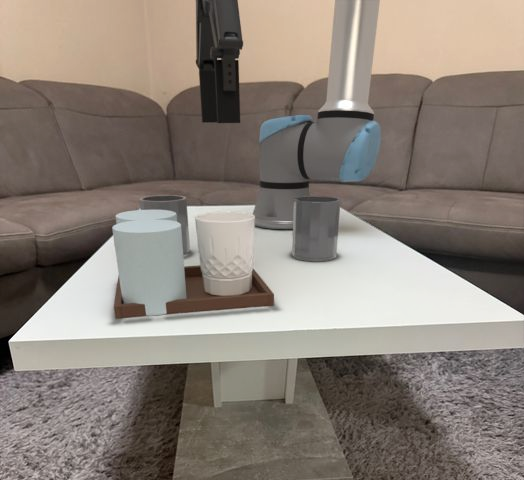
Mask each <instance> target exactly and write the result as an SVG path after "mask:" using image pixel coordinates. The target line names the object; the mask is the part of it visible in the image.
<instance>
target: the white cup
mask: <svg viewBox="0 0 524 480" xmlns="http://www.w3.org/2000/svg"><path fill="white" fill-rule="evenodd" d="M194 221H195V231H196V239H197V250H198V256H199V266H200V265H201V272H202V277H203V287H204V290H205V292H207V293H209V294H212V295H217V296H230V295H241V294H244V293H247V292H249V291H250V289H251V288H252V269H254V257H255V256H254V255H255V233H256V232H255V228H256V226H255V216H254V215H253V213H249V212H243V211H232V210H231V211H228V210H227V211H225V210H224V211H222V210H221V211H209V212H203V213H200V214H196V215H195V216H194Z"/></svg>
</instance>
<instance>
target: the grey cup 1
mask: <svg viewBox="0 0 524 480" xmlns="http://www.w3.org/2000/svg"><path fill="white" fill-rule="evenodd" d="M139 207H140V208H139V210H168V211H173V212H175V213H176V215H177V222H179V223H180V224H181V232H182V245H183V256H185V255H188V254H189V253H190V252H191V243H190V230H189V229H190V228H189V216H188V201H187V197H186V196H183V195H178V194H177V195H175V194H174V195H173V194H159V195H147V196H142V197H140V198H139Z"/></svg>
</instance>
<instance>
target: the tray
mask: <svg viewBox="0 0 524 480" xmlns="http://www.w3.org/2000/svg"><path fill="white" fill-rule="evenodd" d="M184 271H185V284H186V297H187V299H179V300H174V301H170V302H166V312H167V314H163V315H162V316H164V315H176V314H177V315H179V314H191V313H200V312H212V311H214V312H215V311H224V310H238V309H248V308H249V309H250V308H261V307H271V306H273V307H274V306H275V294H274V292H273V291H272V290H271V288H270V287H269V286H268V284H267V283H266V282H265V280H264V279H263V278H262V277H261V276H260V275H259V273H258V271H256V270H255V268H253V269H252V288H251V289H250V291H249V292H247V293H244V294H241V295H230V296H217V295H212V294H209V293H207V292H205V290H204V287H203V277H202V272H201V265H200V264H199V265H186V266H185V265H184ZM116 283H117V284H116V288H115V289H116V291H115V295H114V302H113V311H114V316H115V319H116V320H118V319H130V318H141V317H143V318H144V317H147V316H146V310H145V304H137V303H127V304H123V301H122V293H121V286H120V279H119V274H118V275H117V281H116ZM153 316H155V315H153ZM153 316H152V317H153Z"/></svg>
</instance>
